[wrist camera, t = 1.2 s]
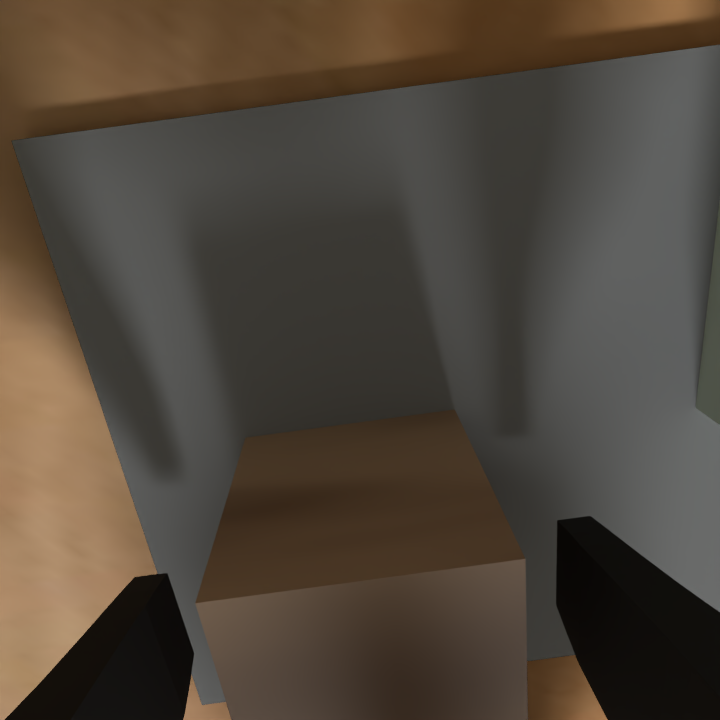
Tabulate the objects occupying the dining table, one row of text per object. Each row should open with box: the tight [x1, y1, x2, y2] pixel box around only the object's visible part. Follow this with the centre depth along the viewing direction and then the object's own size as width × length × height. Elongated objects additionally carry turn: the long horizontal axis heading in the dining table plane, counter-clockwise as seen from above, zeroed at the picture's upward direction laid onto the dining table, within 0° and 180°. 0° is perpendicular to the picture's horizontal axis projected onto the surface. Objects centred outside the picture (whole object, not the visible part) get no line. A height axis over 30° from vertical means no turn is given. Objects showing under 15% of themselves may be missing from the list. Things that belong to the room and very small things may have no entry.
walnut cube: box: [195, 409, 528, 720], centre depth 10 cm, size 4×4×4 cm
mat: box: [12, 45, 720, 705], centre depth 12 cm, size 14×22×1 cm, turn 97°
